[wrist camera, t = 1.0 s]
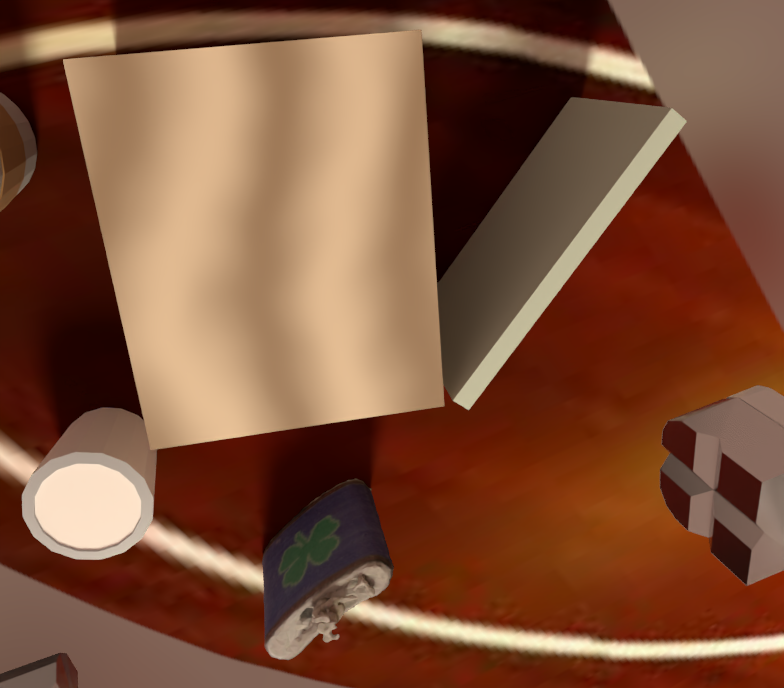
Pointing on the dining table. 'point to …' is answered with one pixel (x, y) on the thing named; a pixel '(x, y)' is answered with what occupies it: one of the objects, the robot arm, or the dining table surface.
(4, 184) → the coffee cup
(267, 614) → the flask
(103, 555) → the white cylinder
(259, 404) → the oak cabinet
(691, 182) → the dining table surface
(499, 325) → the side door
